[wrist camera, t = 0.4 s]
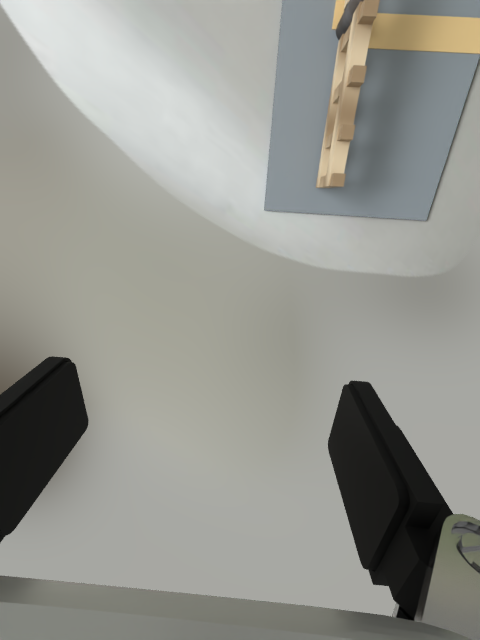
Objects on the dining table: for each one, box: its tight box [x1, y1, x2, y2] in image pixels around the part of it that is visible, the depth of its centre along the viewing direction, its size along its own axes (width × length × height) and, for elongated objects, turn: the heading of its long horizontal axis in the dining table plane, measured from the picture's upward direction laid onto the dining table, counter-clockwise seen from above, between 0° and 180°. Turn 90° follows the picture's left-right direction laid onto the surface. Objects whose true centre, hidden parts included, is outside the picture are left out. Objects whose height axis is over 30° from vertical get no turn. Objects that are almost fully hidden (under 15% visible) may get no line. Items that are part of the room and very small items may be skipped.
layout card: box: [264, 0, 480, 221], centre depth 27 cm, size 26×20×1 cm
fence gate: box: [316, 0, 380, 188], centre depth 25 cm, size 12×1×7 cm, turn 177°
